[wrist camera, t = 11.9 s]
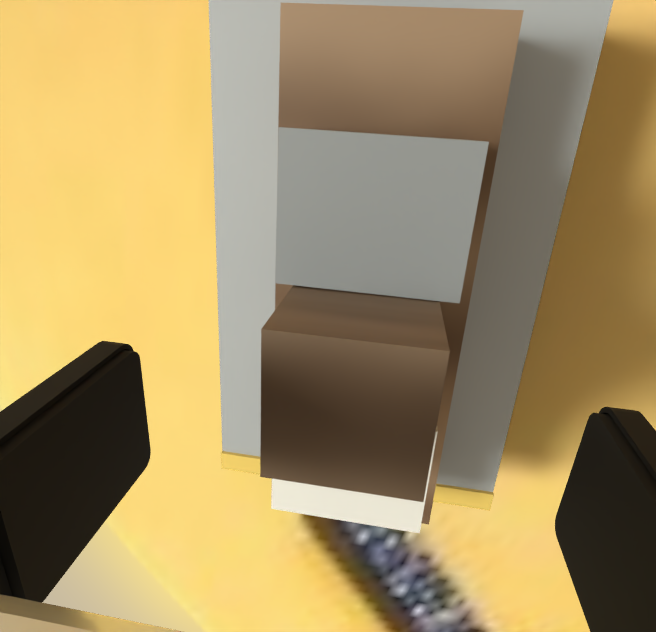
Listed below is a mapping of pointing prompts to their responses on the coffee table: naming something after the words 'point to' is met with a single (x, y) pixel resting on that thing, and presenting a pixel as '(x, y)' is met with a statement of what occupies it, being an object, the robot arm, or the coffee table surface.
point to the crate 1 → (376, 212)
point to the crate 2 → (349, 504)
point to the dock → (497, 238)
